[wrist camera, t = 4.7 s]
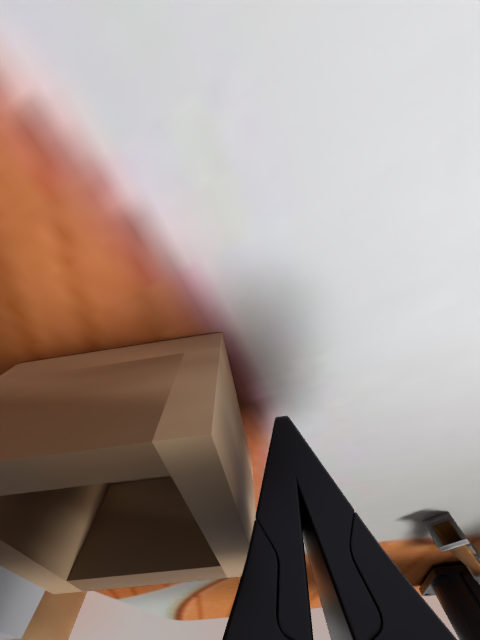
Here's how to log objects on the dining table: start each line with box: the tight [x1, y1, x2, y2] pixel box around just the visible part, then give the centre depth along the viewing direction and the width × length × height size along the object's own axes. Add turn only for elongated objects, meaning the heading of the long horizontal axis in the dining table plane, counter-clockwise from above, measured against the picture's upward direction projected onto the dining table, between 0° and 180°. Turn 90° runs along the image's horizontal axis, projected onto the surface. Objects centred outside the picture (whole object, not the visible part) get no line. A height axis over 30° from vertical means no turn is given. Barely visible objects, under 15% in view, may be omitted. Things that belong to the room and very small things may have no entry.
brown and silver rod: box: [423, 512, 480, 584], centre depth 15 cm, size 2×8×4 cm, turn 43°
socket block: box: [0, 332, 256, 594], centre depth 8 cm, size 8×8×4 cm
